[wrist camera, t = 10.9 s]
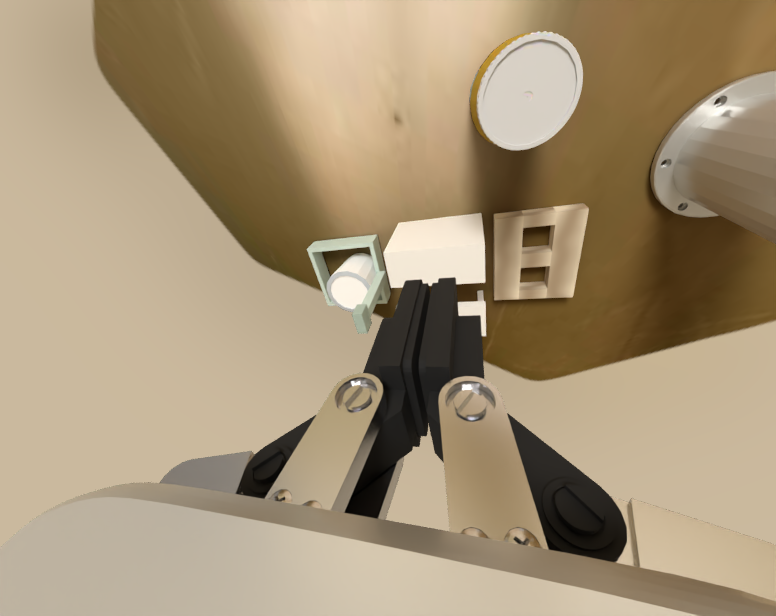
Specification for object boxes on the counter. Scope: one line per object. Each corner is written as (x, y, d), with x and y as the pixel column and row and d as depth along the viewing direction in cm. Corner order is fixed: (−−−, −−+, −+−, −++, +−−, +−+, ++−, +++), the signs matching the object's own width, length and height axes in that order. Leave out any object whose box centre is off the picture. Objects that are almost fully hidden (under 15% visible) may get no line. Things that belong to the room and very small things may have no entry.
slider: (383, 233, 42) (353, 286, 31) (396, 293, 48) (374, 356, 37) (314, 241, 45) (264, 291, 34) (333, 296, 51) (296, 355, 40)
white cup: (375, 293, 49) (363, 319, 44) (337, 276, 49) (321, 300, 43) (391, 261, 45) (380, 285, 39) (349, 241, 44) (333, 263, 39)
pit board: (583, 203, 35) (588, 208, 33) (568, 289, 42) (572, 297, 40) (493, 213, 38) (494, 219, 36) (493, 292, 44) (494, 300, 43)
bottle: (557, 84, 29) (618, 82, 18) (500, 146, 33) (518, 179, 22) (509, 28, 28) (539, -15, 16) (455, 101, 32) (448, 109, 20)
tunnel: (481, 213, 38) (484, 243, 31) (482, 294, 45) (486, 336, 37) (398, 223, 41) (383, 253, 34) (412, 298, 48) (401, 336, 41)
